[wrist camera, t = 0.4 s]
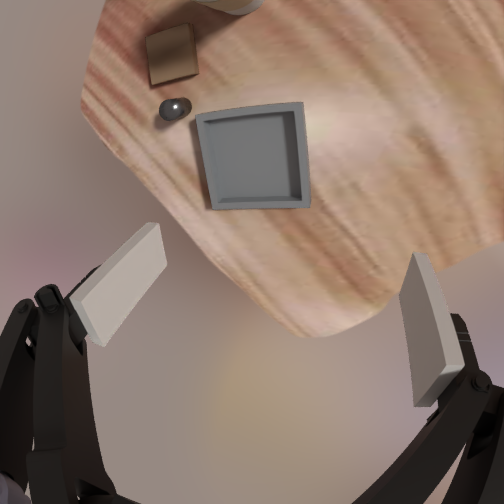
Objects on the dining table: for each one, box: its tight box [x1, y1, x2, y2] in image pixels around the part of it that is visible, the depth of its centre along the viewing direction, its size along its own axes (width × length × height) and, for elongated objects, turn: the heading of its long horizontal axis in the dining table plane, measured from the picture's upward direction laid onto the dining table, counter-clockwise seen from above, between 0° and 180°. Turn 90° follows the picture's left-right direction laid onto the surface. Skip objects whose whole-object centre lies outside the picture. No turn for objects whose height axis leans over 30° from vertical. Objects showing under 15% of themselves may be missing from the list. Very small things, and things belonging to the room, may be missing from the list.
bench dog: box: [159, 98, 192, 121], centre depth 35 cm, size 3×3×4 cm
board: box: [145, 23, 199, 85], centre depth 32 cm, size 8×7×2 cm
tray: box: [195, 102, 311, 210], centre depth 37 cm, size 14×14×2 cm
